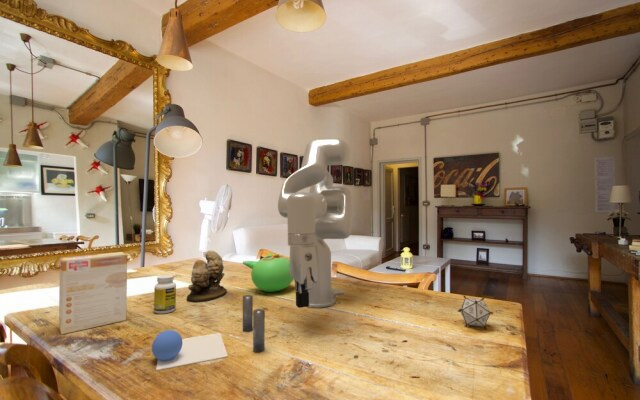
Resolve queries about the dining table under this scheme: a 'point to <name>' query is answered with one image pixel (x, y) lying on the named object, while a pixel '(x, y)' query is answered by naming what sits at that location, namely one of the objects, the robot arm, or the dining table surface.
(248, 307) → the post
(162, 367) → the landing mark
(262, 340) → the post
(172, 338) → the ball
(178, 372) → the dining table surface
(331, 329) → the dining table surface
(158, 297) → the pill bottle
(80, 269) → the coffeecake box
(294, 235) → the robot arm
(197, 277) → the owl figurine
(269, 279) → the green teapot
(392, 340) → the dining table surface
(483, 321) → the game die
